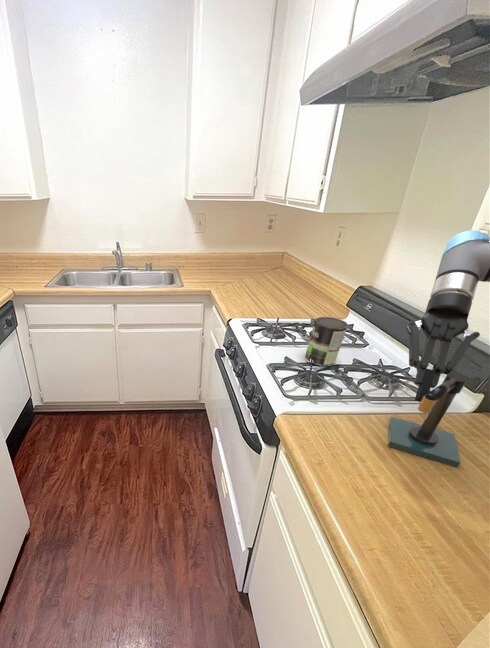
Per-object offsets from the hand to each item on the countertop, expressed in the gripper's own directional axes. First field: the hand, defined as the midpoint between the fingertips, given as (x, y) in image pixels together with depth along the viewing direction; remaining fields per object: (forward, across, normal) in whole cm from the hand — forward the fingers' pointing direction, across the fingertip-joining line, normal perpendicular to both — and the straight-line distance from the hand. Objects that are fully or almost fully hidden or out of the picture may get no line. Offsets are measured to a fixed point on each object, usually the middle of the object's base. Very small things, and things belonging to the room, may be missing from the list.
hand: (420, 399), depth 72 cm
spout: (-2, -4, -3) cm, 5 cm away
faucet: (+5, -6, -17) cm, 19 cm away
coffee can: (-19, +23, -41) cm, 51 cm away
